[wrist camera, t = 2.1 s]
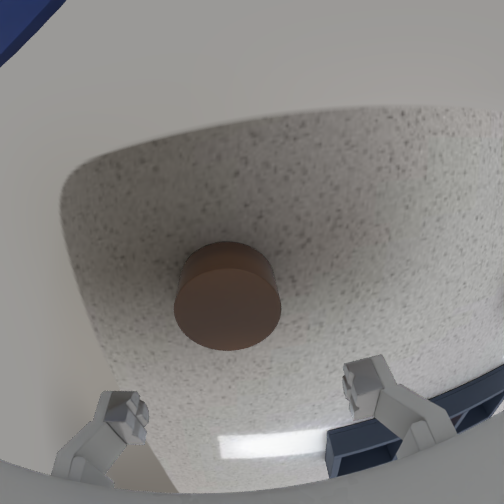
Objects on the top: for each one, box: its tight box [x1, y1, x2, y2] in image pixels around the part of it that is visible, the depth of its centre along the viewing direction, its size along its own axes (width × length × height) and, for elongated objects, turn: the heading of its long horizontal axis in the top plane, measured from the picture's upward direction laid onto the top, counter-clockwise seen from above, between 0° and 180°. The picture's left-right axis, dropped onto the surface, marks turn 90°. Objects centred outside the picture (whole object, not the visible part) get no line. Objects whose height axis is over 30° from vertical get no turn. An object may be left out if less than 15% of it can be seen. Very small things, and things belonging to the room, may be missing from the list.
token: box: [174, 242, 281, 351], centre depth 15 cm, size 5×5×2 cm
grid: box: [325, 365, 504, 479], centre depth 26 cm, size 8×23×3 cm, turn 99°
